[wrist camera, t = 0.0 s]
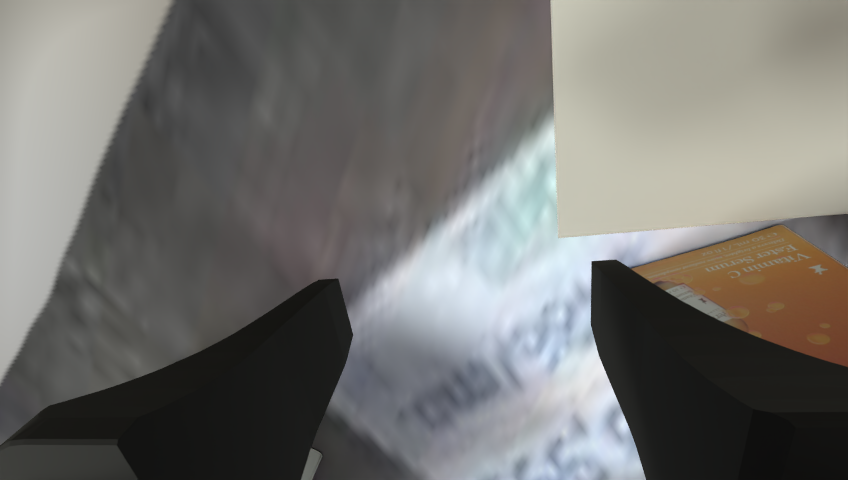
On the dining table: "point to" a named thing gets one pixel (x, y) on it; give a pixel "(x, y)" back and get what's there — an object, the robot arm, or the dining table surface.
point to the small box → (765, 289)
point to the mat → (698, 112)
